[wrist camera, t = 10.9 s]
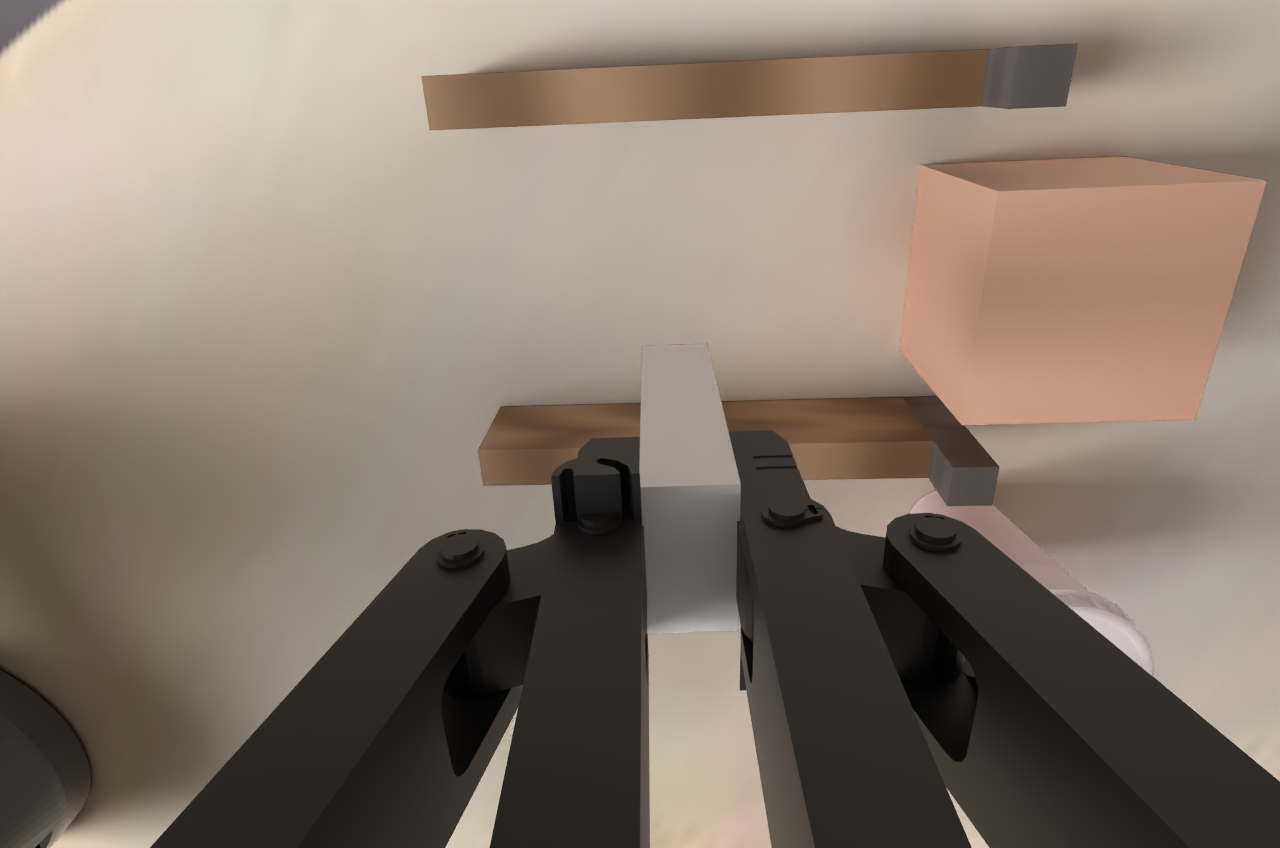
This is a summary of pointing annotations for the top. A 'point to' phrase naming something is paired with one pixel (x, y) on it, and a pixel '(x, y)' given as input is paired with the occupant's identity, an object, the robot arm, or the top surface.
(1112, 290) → the block
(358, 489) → the top surface
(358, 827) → the robot arm
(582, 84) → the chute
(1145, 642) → the smoothie
